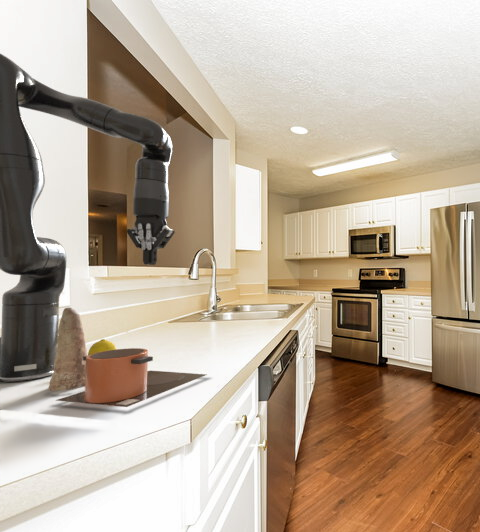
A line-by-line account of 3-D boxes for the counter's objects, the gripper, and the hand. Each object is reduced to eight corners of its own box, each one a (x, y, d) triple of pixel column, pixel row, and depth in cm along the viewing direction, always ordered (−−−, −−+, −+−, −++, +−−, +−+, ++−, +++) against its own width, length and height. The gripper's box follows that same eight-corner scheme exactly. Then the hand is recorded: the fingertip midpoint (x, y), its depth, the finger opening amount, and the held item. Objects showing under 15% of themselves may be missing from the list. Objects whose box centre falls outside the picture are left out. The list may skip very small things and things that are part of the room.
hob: (53, 405, 63) (54, 399, 64) (149, 374, 83) (150, 369, 83) (126, 412, 61) (126, 406, 61) (207, 378, 80) (208, 374, 80)
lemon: (99, 375, 82) (100, 341, 82) (81, 373, 83) (82, 340, 84) (122, 368, 88) (122, 337, 88) (104, 367, 89) (105, 336, 89)
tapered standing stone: (41, 399, 69) (72, 399, 69) (33, 312, 66) (65, 313, 67) (69, 384, 75) (98, 384, 75) (63, 304, 72) (93, 305, 73)
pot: (62, 400, 63) (64, 357, 63) (113, 384, 73) (114, 346, 73) (122, 405, 61) (123, 360, 61) (166, 388, 70) (167, 349, 71)
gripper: (116, 196, 87) (114, 264, 87) (160, 195, 85) (159, 264, 85) (143, 202, 95) (141, 264, 94) (184, 201, 93) (183, 265, 92)
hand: (149, 264), depth 90 cm, fingers closed
